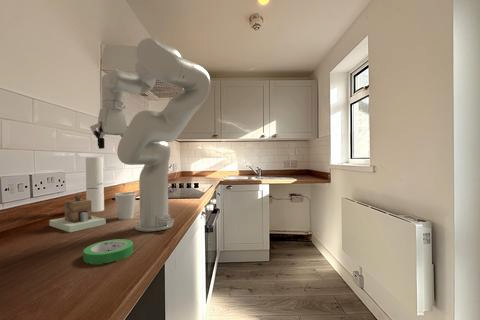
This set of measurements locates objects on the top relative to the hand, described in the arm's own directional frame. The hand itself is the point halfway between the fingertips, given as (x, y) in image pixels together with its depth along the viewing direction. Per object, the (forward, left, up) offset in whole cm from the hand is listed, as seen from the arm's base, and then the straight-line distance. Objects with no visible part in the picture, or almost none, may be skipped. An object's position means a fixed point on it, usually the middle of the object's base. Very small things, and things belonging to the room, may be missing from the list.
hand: (113, 148), depth 104 cm
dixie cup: (-3, -3, -28) cm, 29 cm away
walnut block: (+1, +13, -26) cm, 29 cm away
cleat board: (+2, +13, -28) cm, 31 cm away
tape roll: (-37, +23, -29) cm, 52 cm away
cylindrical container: (+23, -4, -28) cm, 37 cm away
